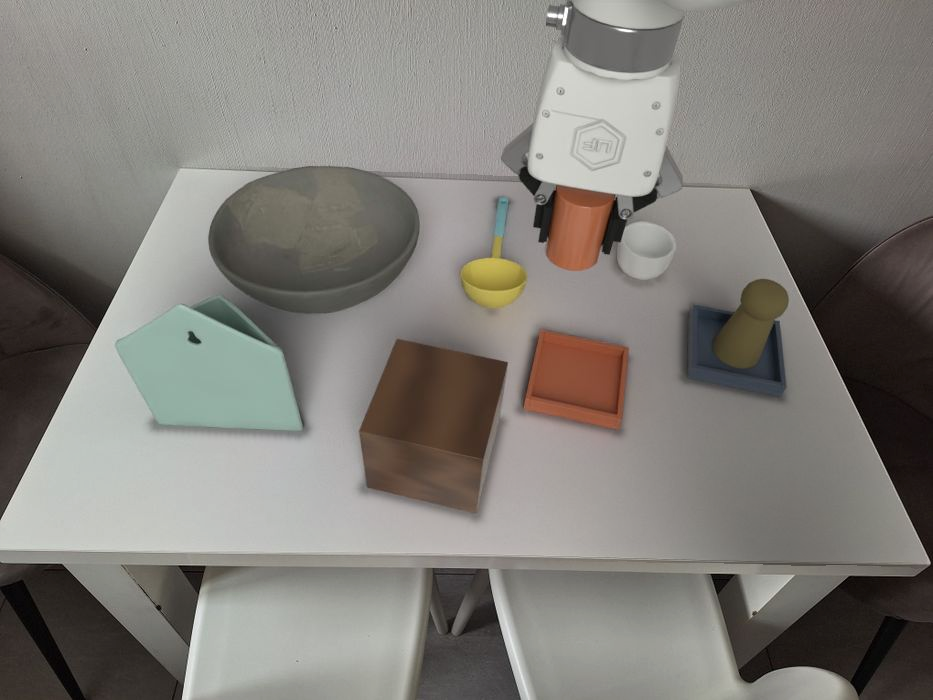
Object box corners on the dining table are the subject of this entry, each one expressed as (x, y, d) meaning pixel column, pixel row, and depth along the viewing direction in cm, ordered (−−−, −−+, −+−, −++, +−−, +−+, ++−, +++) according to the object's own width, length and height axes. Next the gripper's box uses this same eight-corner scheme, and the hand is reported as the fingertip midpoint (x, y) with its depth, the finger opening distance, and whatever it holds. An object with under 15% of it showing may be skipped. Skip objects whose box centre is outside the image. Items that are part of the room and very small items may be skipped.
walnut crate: (499, 421, 76) (508, 361, 67) (476, 513, 68) (483, 460, 60) (400, 399, 77) (396, 338, 69) (366, 487, 70) (358, 431, 61)
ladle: (455, 318, 85) (456, 279, 81) (475, 227, 106) (476, 193, 102) (523, 324, 84) (527, 285, 81) (529, 231, 105) (532, 197, 102)
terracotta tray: (625, 358, 83) (629, 347, 81) (617, 430, 76) (622, 419, 74) (538, 340, 84) (540, 329, 83) (523, 409, 77) (525, 398, 75)
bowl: (204, 348, 81) (181, 291, 73) (247, 213, 98) (231, 155, 90) (417, 352, 82) (415, 296, 74) (422, 218, 99) (422, 161, 91)
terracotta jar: (601, 239, 61) (617, 176, 56) (596, 275, 58) (613, 212, 53) (548, 230, 62) (560, 167, 56) (541, 265, 59) (552, 201, 53)
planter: (315, 376, 79) (288, 252, 64) (303, 431, 74) (270, 311, 59) (178, 369, 78) (119, 243, 63) (157, 425, 73) (86, 302, 58)
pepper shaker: (765, 345, 85) (803, 284, 76) (752, 376, 81) (790, 315, 73) (720, 325, 86) (752, 264, 78) (705, 354, 83) (737, 293, 75)
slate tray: (773, 331, 87) (779, 320, 85) (779, 397, 80) (786, 387, 78) (688, 314, 88) (693, 304, 87) (687, 378, 81) (692, 367, 80)
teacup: (670, 289, 91) (681, 260, 87) (616, 286, 91) (625, 257, 87) (657, 242, 98) (667, 213, 94) (606, 239, 98) (614, 210, 93)
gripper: (488, 39, 43) (473, 249, 57) (751, 78, 41) (670, 284, 55) (508, -5, 48) (490, 198, 62) (744, 27, 46) (671, 229, 60)
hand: (575, 237), depth 58 cm, fingers closed on terracotta jar, 5 cm apart
